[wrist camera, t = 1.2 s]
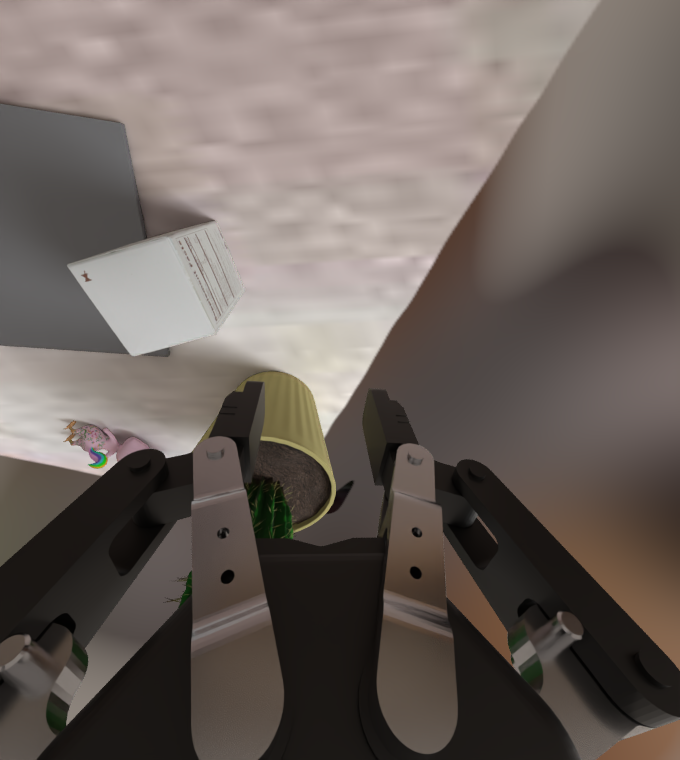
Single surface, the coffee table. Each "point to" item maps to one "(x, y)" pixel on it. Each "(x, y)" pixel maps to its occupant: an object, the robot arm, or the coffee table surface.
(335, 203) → the coffee table surface
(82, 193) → the mat
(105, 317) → the supplement box
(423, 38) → the coffee table surface
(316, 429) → the potted cactus
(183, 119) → the coffee table surface
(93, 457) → the pink unicorn figurine
